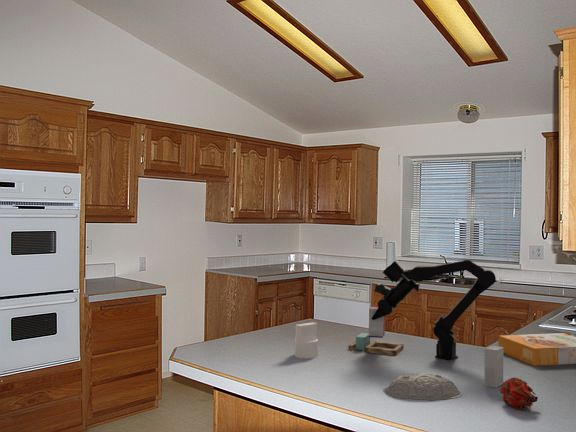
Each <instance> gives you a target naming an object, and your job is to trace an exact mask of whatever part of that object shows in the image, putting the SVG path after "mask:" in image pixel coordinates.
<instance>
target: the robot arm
mask: <svg viewBox="0 0 576 432" xmlns="http://www.w3.org/2000/svg"><path fill="white" fill-rule="evenodd" d="M463 271H467V272H468V273H470V274H471V275H473V276H474V277H475V278H476V279H475V281H474V283H473V285H472V286H471V287H470V289H469V290H468V291H467V292H466V293H465V294H464V295H463V297H462V298H461V299H460V300H459V301H458V302H457V303H456V304H455V306H454V307H453V308H452V309H451V310H450V311H449V312H448V313H447V314H445V315H443V314H442V313H441V314H440V316H439V318H438V319H436V320H435V321H434V326H433V330H432V331H433V335H434V336H435V337H436V338H438V339H437V340H436V341H437V342H436V344H435V345H436V346H435V356H434V357H435V358H439V359H444V360H449V361H450V360H454V359H457V358H459V356H458V355H457V342H456V341H455V336H456V334H455V333H454V332H453V331H452V329H453V327H454V326H455V323H456V322H457V321H458V319H459V318H460V317H461V316H462V314H464V313H465V312H466V310H467V309H468V308H469V307H470V305H472V303H473V302H475V300H476V299H477V298H478V297H479V296H480V294H482V293H484V292H485V291H487V290H488V289H489V288H490V287H491V286H493V285H494V284H495V282H496V279H497V278H496V275H495V272H494V271H493V270H491V269H484V268H483V267H481V266H480V265H478V264H476V263H475V262H473V261H472V260H471V259H467V258H466V259H464V260H459V261H453V262H448V263H443V264H438V265H416V266H415V267H413V268H412V269H411V268H410V269H406V270H404V268H403V267H401V266H400V265H399V263H398V262H397V260H394V261H393V262H392V263H391V264H390V265H388V266H387V267H386V268H385V269H383V271H382V274H383V275H384V276H385V277H387V279H388V280H389V281H390V282H391V283H393V282H394V283H397V284H396V285H394V287H392V288H390V287H388V286H386V285H385V284H382V283H381V282H377V283H376V285H375V287H374V290H373V292H375V293H377V294H380V295H382V296H383V298H381V299H380V300H379V301H378V302H377V307H378V309H377V311H376V312H375V314H374V315H373V317H372V318H371V319H372V320H375V319H378V318H380V317H383V316H385V317H386V316H389V315H391V313H392V312H394V309H395V308H397V306H398V305H399V304H401V302H402V301H403V300H405V298H406V297H407V296H409V294H410V293H411V292H412V291H413V290H415V291H416V292H420V283H421V282H423V281H426V280H429V279H431V278H433V277H436V276H442V275H446V274H452V273H457V272H458V273H459V272H463ZM409 278H410V279H409ZM398 281H399V282H398Z"/></svg>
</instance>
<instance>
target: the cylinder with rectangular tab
mask: <svg viewBox="0 0 576 432" xmlns="http://www.w3.org/2000/svg"><path fill="white" fill-rule="evenodd" d="M294 357H296V358H299V359H315V358H317V357H319V339H318V323H317V322H313V321H311V322H307V323H300V324H295V338H294Z"/></svg>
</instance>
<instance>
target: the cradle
mask: <svg viewBox="0 0 576 432" xmlns="http://www.w3.org/2000/svg"><path fill="white" fill-rule="evenodd" d="M404 345H405V344H403V343H394V342H386V341H385V342H384V341H376V340H373V341H371V342H370V344H369V345H367V346H366V347H365V350H360V349H356V340H355V341H353V342H352V343H350V344H349V345H348V347H347V348H348V351H353V350H356V351H362V352H363V351H364V353H370V354H371V353H372V354H381V355H387V354H389V355H388V356H397V355H398V354H399V353H401V352H402V351H403V350H404ZM401 350H402V351H401Z"/></svg>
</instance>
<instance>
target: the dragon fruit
mask: <svg viewBox="0 0 576 432" xmlns="http://www.w3.org/2000/svg"><path fill="white" fill-rule="evenodd" d="M499 393H500V394H502V399H503V400H502V401H503V402H504V403H505V405H507V404H510V405H511V406H512V407H513V408H514V409H515V410H518V411H525V409H524V408H522V407H529V408H531V407H532V406H534V403H536V402H538V398H539V397H538V396H535V395H537V394H536V393H535V392H534V390H533V388H532V387H530V386H529V385H528V383H527V381H525V380H522V379H521V378H519V377H510V378H508V379H507V380H504V381H503V384H502V385H501V386H500V390H499Z"/></svg>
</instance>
